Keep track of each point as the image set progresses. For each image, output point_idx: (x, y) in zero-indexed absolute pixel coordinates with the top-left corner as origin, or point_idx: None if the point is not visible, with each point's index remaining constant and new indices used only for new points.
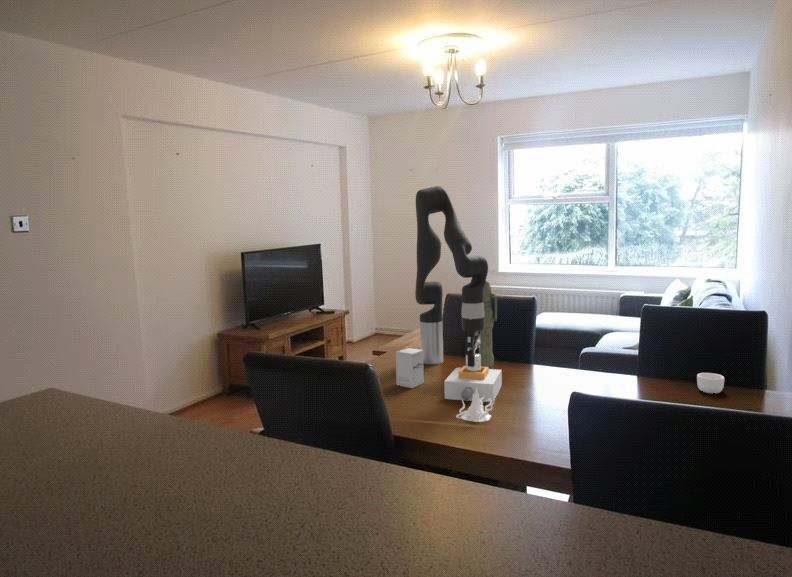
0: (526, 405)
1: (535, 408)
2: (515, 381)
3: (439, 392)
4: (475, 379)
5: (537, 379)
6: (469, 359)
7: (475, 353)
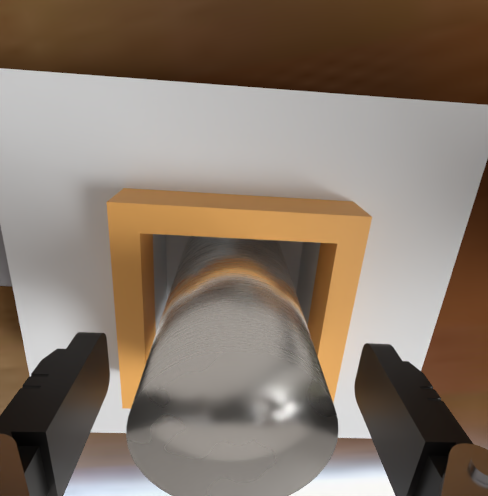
0: (95, 463)
1: (69, 489)
2: (452, 406)
3: (192, 4)
4: (115, 321)
5: None
6: (13, 415)
7: (322, 451)
